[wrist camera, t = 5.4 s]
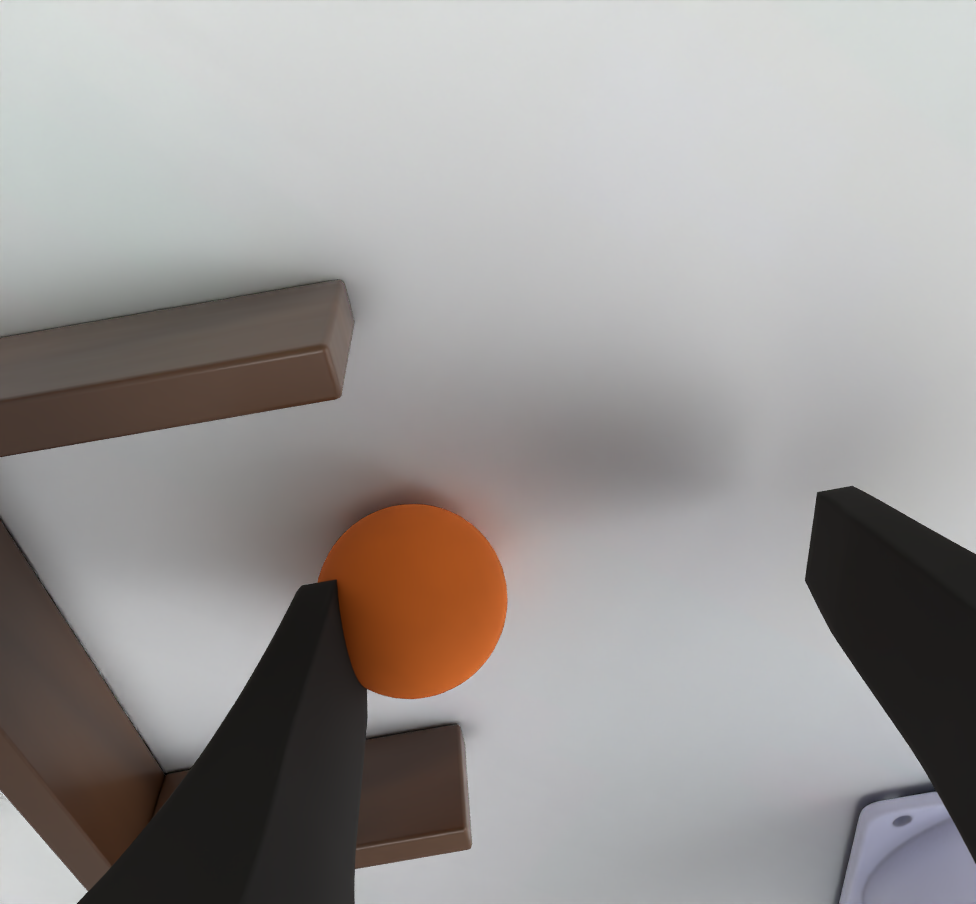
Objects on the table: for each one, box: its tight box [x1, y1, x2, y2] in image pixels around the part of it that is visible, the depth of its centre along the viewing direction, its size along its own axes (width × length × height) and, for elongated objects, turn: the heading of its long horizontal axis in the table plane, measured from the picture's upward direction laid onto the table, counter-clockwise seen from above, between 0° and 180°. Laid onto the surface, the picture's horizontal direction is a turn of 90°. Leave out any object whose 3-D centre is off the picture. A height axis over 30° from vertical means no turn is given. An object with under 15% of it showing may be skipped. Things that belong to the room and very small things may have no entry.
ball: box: [318, 504, 507, 699], centre depth 13 cm, size 3×3×3 cm
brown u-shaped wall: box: [0, 280, 472, 891], centre depth 13 cm, size 8×12×3 cm
